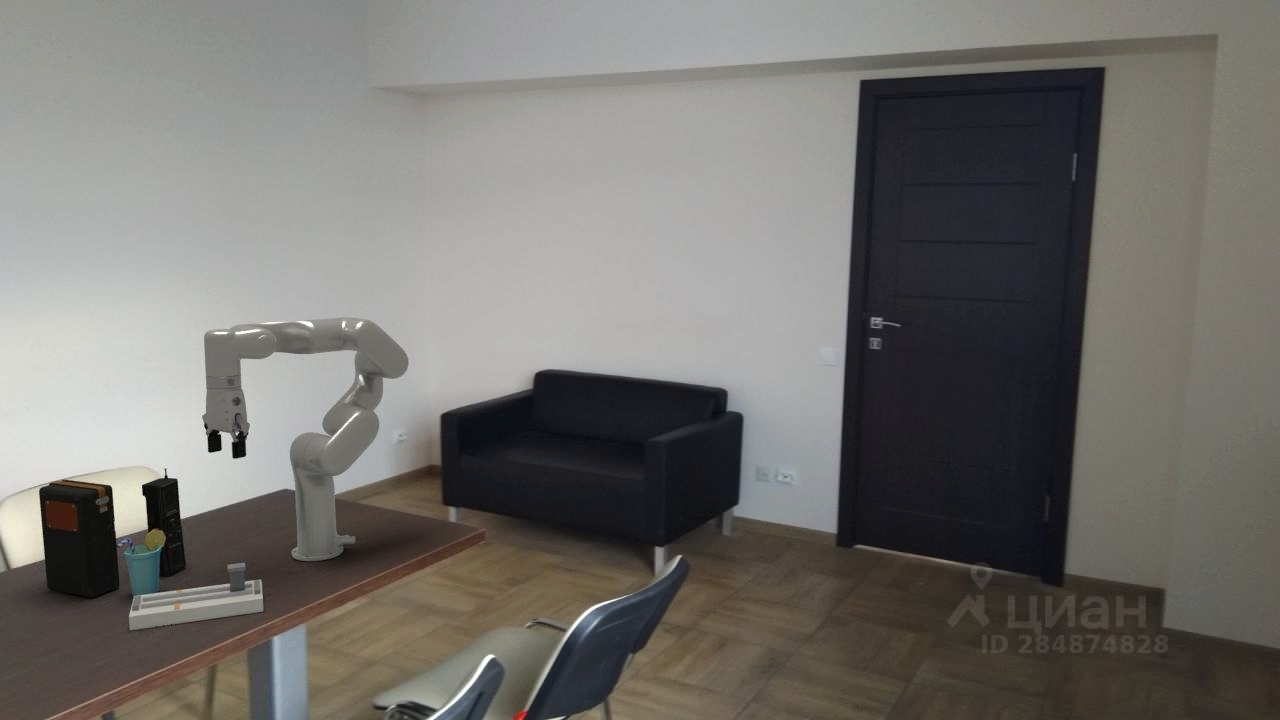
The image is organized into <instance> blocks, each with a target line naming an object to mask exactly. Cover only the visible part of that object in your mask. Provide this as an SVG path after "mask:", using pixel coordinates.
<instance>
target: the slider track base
mask: <svg viewBox="0 0 1280 720" xmlns="http://www.w3.org/2000/svg"><path fill="white" fill-rule="evenodd" d="M262 583H263V582H262V579H256V580H255V579H254V580H246V581H245V590H242V591H234V592H230V583H225V584H217V585H216V584H215V585H208V586H202V587H194V588H193V587H192V588H186V589H178V590H170V591H162V592H161V591H160V592H158V593H154V594H146V595H138V596H134V597H133V599H132V604H131V608H130V611H129V615H128V622H129V631H135V630H142V629H150V628H157V627H163V625H164V626H171V624H172V625H176V624H177V625H178V624H184V623H185V624H186V623H191V622H199V621H206V620H212V619H219V618H225V617H234V616H240V615H248V614H255V613H256V614H257V613H261V612H264V597H263V595H264V594H263V584H262ZM156 626H157V627H156Z"/></svg>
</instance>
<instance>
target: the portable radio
mask: <svg viewBox="0 0 1280 720" xmlns="http://www.w3.org/2000/svg"><path fill="white" fill-rule="evenodd" d="M167 469H168V468H164V476H163V477H161V478H156V479H154V480H152V481H149V482H146V483H143V484H142V485H141V492H142V496H143V497H144V498H145V506H146V507H145V509H146V521H147V522H146V523H147V534H148V533H150V532H151V531H152V530H153V529H154V530H162V531H163V533H164V534H165V536H166V540H165V544H164V546H163V547H162V548H161V552H160V569H159V577H166V576H168V577H170V576H171V575H173V574H175V573H177V572H180V571H181V570H184V569H185V568H186V567H187V563H186V562H187V561H186V556H185V546H184V537H183V536H184V535H183V534H184V533H183V526H182V521H181V519H182V518H181V509H180V507H181V505H180V491H179V482H178V481H179V480H178V478H173V477H168V474H167V473H168V472H167Z"/></svg>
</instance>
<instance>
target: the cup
mask: <svg viewBox="0 0 1280 720" xmlns="http://www.w3.org/2000/svg"><path fill="white" fill-rule="evenodd" d="M132 540H133V539H130V538H129V537H125V538H124V539H122V540H121V541H120V542H118V543H116V544H117V545H116V547H117V549H120V548H121V547H123V546H124V545H125V544H127V543H128V548H127V549H126V550H124V553H123V556H124V558H125V560H126V564H127V565H126V566H127V569H128V570H127V571H128V576H129V582H130V587H131V593H132V597H133V598H134V596H138V595H146V594H154V593H159V592H158V591H160V576H159V569H160V552H161V548H162V547H163V546H164V544H165V540H166V536H165V534H164V533H163V531H162V530H154V529H153V530H152V531H151V532H150V533H148V532H147V533H146V535H145V539H144V544H138V545H134V542H133V541H132Z"/></svg>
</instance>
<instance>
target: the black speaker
mask: <svg viewBox="0 0 1280 720" xmlns="http://www.w3.org/2000/svg"><path fill="white" fill-rule="evenodd" d="M113 494H114V491H113V487H112V485H110V484H104V483H103V484H102V483H95V482H94V483H93V482H87V481H86V482H85V481H80V480H78V481H77V480H73V479H72V480H71V479H61V480H56V481H53V482H50V483H48V485H45V486H41V487H40V488H39V490H38V496H39V507H40V509H39V510H40V518H41V530H42V542H43V552H44V553H43V554H44V564H45V576H46V587H47V589H49V590H50V591H55V592H63V593H67V594H73V595H77V596H84V597H90V598H95V597H98V596H100V595H102V594H105V593H107V592H109V591H112V590H117V589H119V588H120V586H121V585H120V572H119V571H120V570H119V559H118V548H117V547H116V545H117V544H118V543H117V531H116V524H115V520H116V519H115V507H114V495H113Z"/></svg>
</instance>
